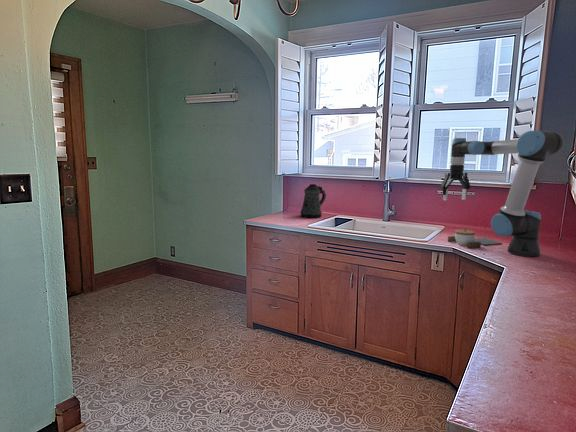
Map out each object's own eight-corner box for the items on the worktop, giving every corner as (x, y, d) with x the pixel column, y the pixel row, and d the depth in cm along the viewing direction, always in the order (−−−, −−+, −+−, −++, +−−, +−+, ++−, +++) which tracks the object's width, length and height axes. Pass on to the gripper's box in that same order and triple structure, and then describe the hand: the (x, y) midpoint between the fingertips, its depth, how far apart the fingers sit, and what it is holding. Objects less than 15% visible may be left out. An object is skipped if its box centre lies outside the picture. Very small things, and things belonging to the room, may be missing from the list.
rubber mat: (501, 244, 231) (502, 243, 231) (484, 245, 227) (484, 244, 227) (484, 239, 243) (484, 237, 243) (467, 240, 239) (467, 239, 239)
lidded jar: (470, 242, 234) (471, 227, 232) (476, 247, 224) (478, 230, 222) (451, 241, 235) (452, 226, 233) (456, 246, 225) (458, 230, 223)
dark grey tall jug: (296, 216, 307) (296, 184, 303) (310, 213, 323) (311, 182, 318) (314, 219, 298) (315, 186, 293) (327, 216, 313) (328, 184, 308)
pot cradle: (480, 247, 223) (480, 242, 222) (468, 248, 220) (469, 243, 220) (458, 240, 239) (459, 235, 238) (447, 241, 236) (448, 236, 236)
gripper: (469, 164, 243) (466, 198, 246) (435, 164, 235) (432, 199, 239) (479, 164, 236) (475, 200, 239) (443, 164, 228) (441, 201, 232)
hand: (454, 200), depth 239 cm, fingers open, 13 cm apart
